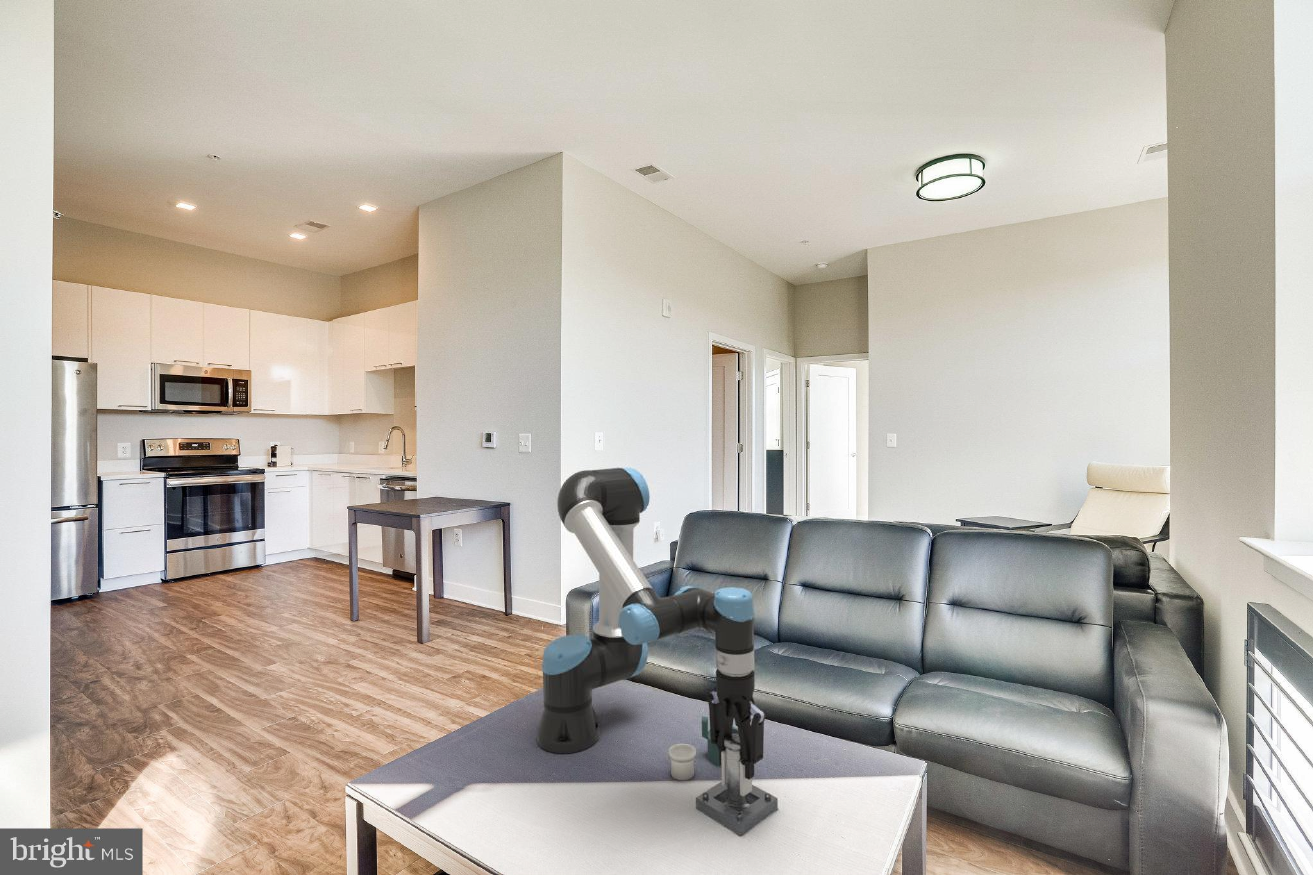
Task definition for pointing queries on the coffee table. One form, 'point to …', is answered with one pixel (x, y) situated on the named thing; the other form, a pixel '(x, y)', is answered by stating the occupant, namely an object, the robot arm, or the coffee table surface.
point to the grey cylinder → (733, 770)
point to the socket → (730, 818)
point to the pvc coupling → (682, 761)
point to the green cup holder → (712, 748)
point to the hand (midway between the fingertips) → (736, 787)
